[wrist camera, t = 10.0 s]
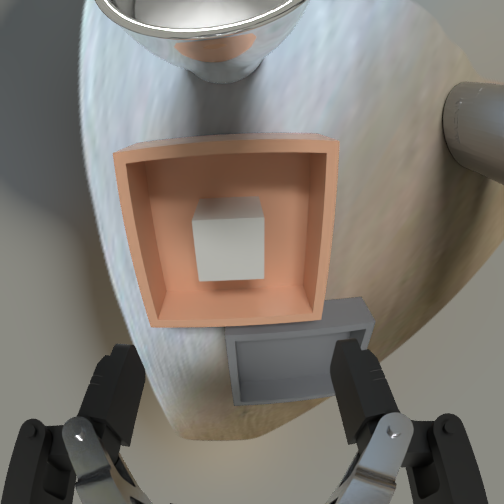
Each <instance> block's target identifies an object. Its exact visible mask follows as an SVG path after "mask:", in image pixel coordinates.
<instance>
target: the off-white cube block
mask: <svg viewBox="0 0 504 504" xmlns="http://www.w3.org/2000/svg"><path fill="white" fill-rule="evenodd" d="M192 228H193V237H194V246H195V254H196V262H197V270H198V277H199V281H225V280H249V279H264V214H263V210H262V207H261V203H260V199H259V196H247V197H223V198H204V199H199V202H198V204H197V207H196V210H195V213H194V216H193V218H192Z"/></svg>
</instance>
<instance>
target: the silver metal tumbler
mask: <svg viewBox="0 0 504 504" xmlns="http://www.w3.org/2000/svg"><path fill="white" fill-rule="evenodd" d="M95 2H96V3H97V5H98V7H99V8H100V9H101V11H102V12H103V13H104V14H105V15H106V16H107V17H108V18H109V19H110V20H112V21H113V22H115V23H116V24H118V25H119V26H120V27H121V28H122V29H123V30H124V31H125V32H126V33H127V34H128V35H129V36H131V37H132V38H133V39H134V40H135V41H136V42H137V43H138V44H140V45H141V46H142V47H144V48H145V49H146V50H148V51H149V52H150V53H152V54H153V55H155V56H156V57H158V58H160V59H162V60H164V61H166V62H168V63H170V64H172V65H174V66H176V67H179V68H182V69H186V70H190V71H191V72H192V73H193V74H194V75H196V76H197V77H199V78H200V79H202V80H205V81H207V82H211V83H217V84H226V83H232V82H236V81H239V80H241V79H244V78H245V77H247V76H249V75H250V74H251V73H253V72H254V71H255V70H256V69H257V67H258V66H259V65H260V63H261V61H262V59H263V58H264V57H266V56H267V55H269V54H270V53H272V52H273V51H274V50H275V49H276V48H277V47H278V46H279V45H280V44H281V43H282V42H283V41H284V40H285V39H286V38H287V37H288V36H289V35H290V34H291V32H292V31H293V30H294V28H295V27H296V25H297V24H298V22H299V21H300V19H301V17H302V16H303V14H304V12H305V10H306V8H307V6H308V4H309V2H310V0H95Z"/></svg>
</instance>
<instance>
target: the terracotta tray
mask: <svg viewBox="0 0 504 504" xmlns="http://www.w3.org/2000/svg"><path fill="white" fill-rule="evenodd" d="M113 158H114V166H115V173H116V180H117V186H118V192H119V198H120V204H121V209H122V215H123V220H124V225H125V230H126V235H127V239H128V244H129V248H130V253H131V257H132V261H133V265H134V269H135V273H136V277H137V281H138V285H139V288H140V292H141V295H142V299H143V302H144V306H145V309H146V313H147V316H148V319H149V322H150V326H151V327H222V326H245V325H263V324H278V323H291V322H303V321H314V320H321V318H322V312H323V305H324V299H325V292H326V285H327V278H328V270H329V262H330V254H331V246H332V236H333V227H334V216H335V205H336V192H337V178H338V161H339V141H338V140H335V139H332V138H329V137H326V136H323V135H320V134H315V133H239V134H219V135H204V136H192V137H181V138H172V139H163V140H155V141H147V142H140V143H136V144H133V145H131V146H128V147H126V148H124V149H121V150H119V151H117V152H114V153H113ZM247 196H259V199H260V203H261V207H262V210H263V214H264V279H249V280H225V281H199V277H198V270H197V262H196V254H195V246H194V237H193V228H192V218H193V216H194V213H195V210H196V207H197V204H198V202H199V199H204V198H223V197H247Z"/></svg>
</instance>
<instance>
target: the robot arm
mask: <svg viewBox="0 0 504 504" xmlns="http://www.w3.org/2000/svg"><path fill="white" fill-rule="evenodd" d="M443 128H444V134H445V139H446V142H447V145H448V148H449V150H450V152H451V154H452V156H453V157H454V158H455V160H456V161H457V162H458V163H459V164H460V165H462V166H464V167H466V168H468V169H470V170H472V171H475V172H477V173H479V174H481V175H484V176H486V177H488V178H490V179H492V180H494V181H496V182H498V183H500V184H502V185H504V85H500V84H491V83H479V82H463V83H459V84H458V85H456V86H455V87H454V88H453V89H452V90H451V91H450V93H449V95H448V97H447V99H446V103H445V106H444V114H443ZM381 369H382V368H381V366H380V363H379V361H378V359H377V357H376V356H375V355H374V354H373V353H372V352H371V351H370V350H369V349H367V350H361V348H360V345H359V343H358V341H357V339H356V338H352V339H344V340H337V341H336V344H335V348H334V352H333V356H332V360H331V364H330V376H331V380H332V384H333V387H334V391H335V395H336V398H337V402H338V406H339V410H340V414H341V417H342V421H343V426H344V430H345V434H346V438H347V442H348V445H349V444H354V443H357V446H358V451H357V453H356V455H355V457H354V459H353V461H352V462H351V464H350V466H349V468H348V470H347V471H346V473H345V475H344V477H343V478H342V480H341V482H340V483H339V485H338V486H337V488H336V490H335V491H334V492H333V493H332V495H331V496H330V498H329V499H328V500H327V502H326V503H325V504H389V503H390V500H391V498H392V496H393V494H394V492H395V489H396V483H395V479H396V476H397V474H398V472H399V469H400V467H406V470H407V475H408V479H409V484H410V489H411V493H412V498H413V504H488V501H487V497H486V493H485V489H484V485H483V482H482V478H481V475H480V471H479V468H478V465H477V462H476V459H475V456H474V453H473V450H472V447H471V445H470V442H469V439H468V436H467V433H466V431H465V428H464V426H463V423H462V421H461V420H460V418H459V417H457V416H455V415H454V414H449V413H448V414H443V415H441V416H439V417H438V418H437V419H436V420H435V421H413V420H410V419H409V418H408V417H407V416H406V415H404V414H401V413H400V411H399V410H398V407H397V405H396V403H395V400H394V397H393V395H392V392H391V390H390V387H389V385H388V382H387V380H386V379H385V375H384V373H383V371H382V370H381ZM144 383H145V369H144V366H143V364H142V362H141V359H140V357H139V355H138V352H137V350H136V348H135V346H134V345H127V344H116V345H115V346H114V347H113V350H112V353H111V355H110V356H108V355H105V356H104V357H103V358H102V359H101V360H100V362H99V363H98V364H97V366H96V369H95V371H94V374H93V376H92V378H91V381H90V384H89V386H88V389H87V391H86V394H85V397H84V399H83V402H82V405H81V408H80V410H79V413H78V415H77V416H76V417H73V418H70V419H69V420H68V421H67V422H66V423H65V424H64V425H59V426H45V425H44V424H43V423H42V422H40V421H39V420H37V419H29V420H27V421H25V422H24V423H23V424H22V426H21V428H20V431H19V434H18V437H17V440H16V443H15V447H14V450H13V454H12V457H11V461H10V464H9V468H8V472H7V477H6V481H5V486H4V490H3V495H2V500H1V504H72V502H73V495H74V488H75V487H76V490H77V493H78V495H79V497H80V499H81V502H82V504H152V502H151V501H150V499H149V498H148V497H147V496H146V494H145V493H144V492H143V491H142V490H141V489H140V487H139V486H138V484H137V483H136V481H135V479H134V478H133V476H132V474H131V472H130V471H129V469H128V467H127V465H126V463H125V462H124V460H123V458H122V456H121V454H120V453H119V450H120V445H122V446H128V447H129V446H130V443H131V438H132V434H133V429H134V424H135V420H136V416H137V412H138V407H139V403H140V399H141V395H142V391H143V387H144ZM76 476H77V478H78V482H76ZM75 482H76V483H75ZM170 504H171V503H170Z"/></svg>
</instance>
